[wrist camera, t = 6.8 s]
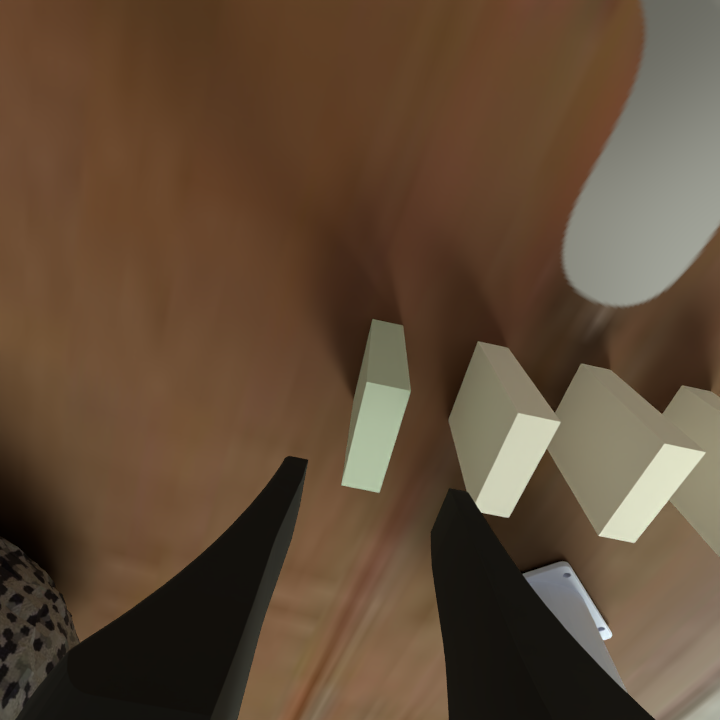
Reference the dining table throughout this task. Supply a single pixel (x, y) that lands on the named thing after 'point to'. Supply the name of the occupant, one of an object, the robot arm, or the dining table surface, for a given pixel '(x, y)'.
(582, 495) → the tile
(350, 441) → the tile
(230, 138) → the dining table surface
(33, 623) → the bowl
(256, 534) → the robot arm
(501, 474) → the tile
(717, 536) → the tile
